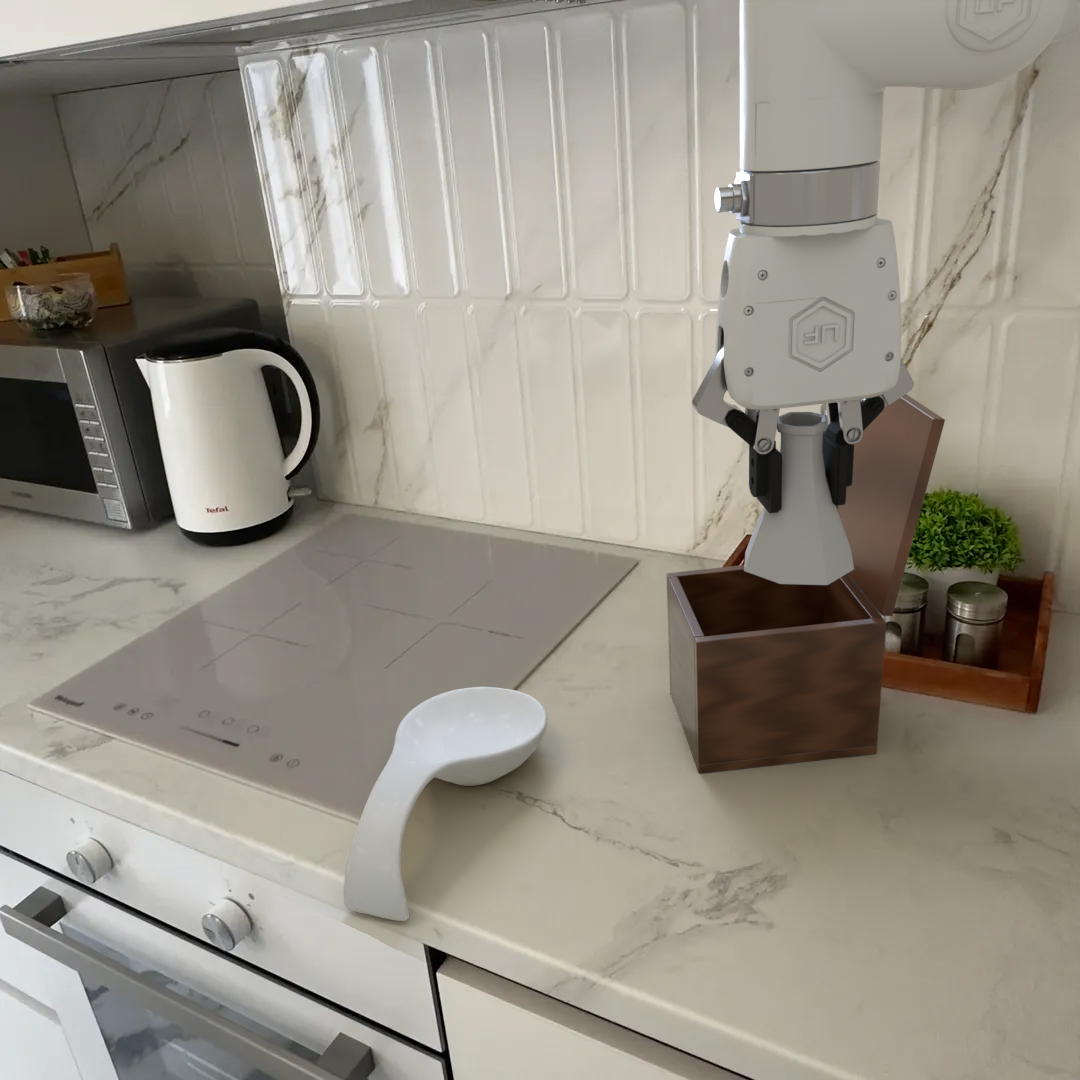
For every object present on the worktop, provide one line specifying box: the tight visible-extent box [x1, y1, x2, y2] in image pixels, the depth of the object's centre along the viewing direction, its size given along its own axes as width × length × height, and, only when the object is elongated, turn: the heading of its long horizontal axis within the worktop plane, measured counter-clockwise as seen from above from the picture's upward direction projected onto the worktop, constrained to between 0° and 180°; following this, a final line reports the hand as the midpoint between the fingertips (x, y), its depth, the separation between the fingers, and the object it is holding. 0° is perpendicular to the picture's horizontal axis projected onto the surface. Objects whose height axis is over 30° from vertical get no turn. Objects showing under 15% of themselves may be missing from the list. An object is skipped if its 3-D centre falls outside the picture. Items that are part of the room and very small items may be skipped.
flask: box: [743, 411, 854, 585], centre depth 62 cm, size 7×7×10 cm
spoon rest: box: [343, 686, 548, 922], centre depth 73 cm, size 24×12×7 cm, turn 162°
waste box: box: [665, 564, 887, 774], centre depth 79 cm, size 14×12×12 cm
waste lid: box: [837, 393, 946, 617], centre depth 74 cm, size 15×12×1 cm
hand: (799, 498), depth 62 cm, fingers closed on flask, 3 cm apart
